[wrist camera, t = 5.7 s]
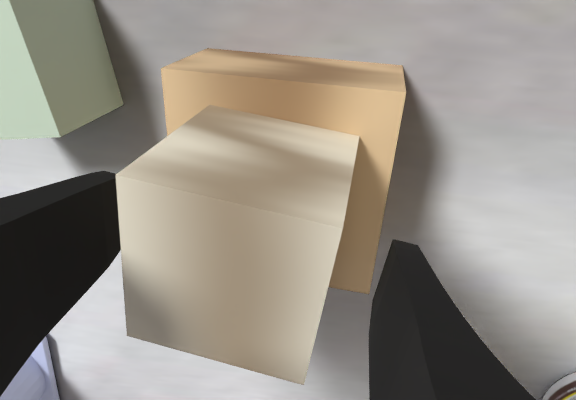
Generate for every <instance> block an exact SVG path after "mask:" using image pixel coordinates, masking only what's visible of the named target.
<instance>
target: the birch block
mask: <svg viewBox="0 0 576 400" xmlns="http://www.w3.org/2000/svg"><path fill="white" fill-rule="evenodd" d="M358 142H359V136H357V135H352V134H347V133H342V132H338V131H333V130H328V129H323V128H319V127H314V126H309V125H304V124H299V123H295V122H290V121H285V120H280V119H276V118H271V117H266V116H261V115H257V114H252V113H247V112H242V111H237V110H233V109H228V108H223V107H218V106H214V105H208V106H207V107H206V108H204V109H203V110H202V111H200V112H199V113H198V114H196V115H195V116H194V117H192V118H191V119H190V120H188V121H187V122H186V123H184V124H183V125H182V126H180V127H179V128H178V129H176V130H175V131H174V132H172V133H171V134H170V135H168V136H167V137H166V138H164V139H163V140H162V141H160V142H159V143H158V144H156V145H155V146H154V147H152V148H151V149H150V150H148V151H147V152H145V153H144V154H143V155H141V156H140V157H139V158H137V159H136V160H135V161H133V162H132V163H131V164H129V165H128V166H127V167H125V168H124V169H123V170H121V171H120V172H119V173H117V174H116V189H117V203H118V217H119V231H120V245H121V259H122V273H123V287H124V301H125V315H126V328H127V336H130V337H133V338H137V339H141V340H144V341H148V342H151V343H155V344H158V345H162V346H166V347H169V348H173V349H176V350H180V351H183V352H187V353H191V354H194V355H198V356H201V357H205V358H208V359H212V360H216V361H219V362H223V363H226V364H230V365H233V366H237V367H241V368H244V369H248V370H251V371H255V372H258V373H262V374H266V375H269V376H273V377H276V378H280V379H283V380H287V381H291V382H294V383H298V384H301V385H304V382H305V378H306V374H307V370H308V366H309V362H310V358H311V354H312V350H313V346H314V342H315V338H316V334H317V330H318V326H319V322H320V318H321V314H322V310H323V306H324V302H325V298H326V294H327V290H328V286H329V282H330V278H331V274H332V270H333V266H334V262H335V258H336V254H337V250H338V246H339V242H340V238H341V234H342V230H343V225H344V220H345V214H346V208H347V203H348V197H349V192H350V186H351V181H352V175H353V169H354V164H355V158H356V153H357V147H358Z"/></svg>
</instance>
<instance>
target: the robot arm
mask: <svg viewBox="0 0 576 400" xmlns="http://www.w3.org/2000/svg"><path fill="white" fill-rule="evenodd" d="M120 250H121V245H120V231H119V217H118V203H117V189H116V174H115V173H110V172H106V171H100V172H95V173H90V174H86V175H82V176H78V177H75V178H71V179H68V180H64V181H61V182H57V183H54V184H50V185H47V186H43V187H40V188H36V189H33V190H29V191H26V192H22V193H19V194H15V195H11V196H7V197H3V198H0V400H59V395H58V390H57V385H56V380H55V375H54V370H53V365H52V361H51V356H50V351H49V346H48V341H47V338H46V335H47V334H48V333H49V332H50V331H51V329H52V328H53V327H54V326H55V325H56V324H57V323H58V322H59V321H60V320H61V319H62V318H63V316H64V315H65V314H66V313H67V312H68V311H69V310H70V309H71V308H72V307H73V306H74V305H75V303H76V302H77V301H78V300H79V299H80V298H81V297H82V296H83V295H84V294H85V293H86V292H87V290H88V289H89V288H90V287H91V286H92V285H93V284H94V283H95V282H96V281H97V279H98V278H99V277H100V276H101V275H102V274H103V273H104V272H105V270H106V269H107V268H108V267H109V266H110V264H111V263H112V261H113V260H114V259H115V257H116V256H117V254H118V253H119V251H120ZM369 389H370V400H536V399H534V398H533V397H532V396H531V395H530V394H529V393H528V392H527V391H526V390H525V389H524V388H523V387H522V385H521V384H520V383H519V382H518V381H517V380H516V379H515V378H514V377H513V376H512V375H511V374H510V373H509V372H508V370H507V369H506V368H505V367H504V366H503V365H502V364H501V363H500V361H499V360H498V359H497V358H496V357H495V356H494V355H493V354H492V352H491V351H490V350H489V349H488V348H487V346H486V345H485V344H484V343H483V342H482V340H481V339H480V338H479V337H478V335H477V334H476V333H475V331H474V330H473V329H472V327H471V326H470V325H469V323H468V322H467V321H466V320H465V318H464V317H463V316H462V314H461V313H460V311H459V310H458V308H457V307H456V306H455V304H454V303H453V301H452V300H451V298H450V297H449V295H448V294H447V292H446V291H445V289H444V288H443V286H442V284H441V283H440V281H439V280H438V278H437V276H436V275H435V273H434V271H433V270H432V268H431V266H430V265H429V263H428V261H427V260H426V258H425V257H424V255H423V253H422V252H421V250H420V248H419V247H418V245H415V244H411V243H406V242H402V241H398V240H394V239H393V241H392V244H391V247H390V250H389V253H388V256H387V259H386V262H385V265H384V268H383V271H382V274H381V277H380V280H379V283H378V286H377V289H376V292H375V295H374V298H373V302H372V311H371V319H370V329H369Z"/></svg>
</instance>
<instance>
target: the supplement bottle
mask: <svg viewBox="0 0 576 400" xmlns="http://www.w3.org/2000/svg"><path fill="white" fill-rule="evenodd" d="M542 400H576V372H574V373H572V374H569V375H567V376H565V377H563V378H562V379H560V380H559V381H557V382H556V383H555V384H553V385H552V386H551V387H550V388H549V389H548V391H547V392H546V393H545V395H544V397H543V399H542Z"/></svg>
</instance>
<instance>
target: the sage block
mask: <svg viewBox="0 0 576 400" xmlns="http://www.w3.org/2000/svg"><path fill="white" fill-rule="evenodd" d="M122 105H124V104H123V101H122V97H121V94H120V90H119V87H118V84H117V80H116V77H115V73H114V70H113V66H112V63H111V60H110V56H109V53H108V49H107V46H106V42H105V39H104V36H103V32H102V29H101V25H100V22H99V18H98V15H97V12H96V8H95V5H94V1H93V0H0V140H7V139H30V138H53V137H62V136H64V135H66V134H68V133H70V132H72V131H73V130H75V129H77V128H79V127H81V126H83V125H85V124H87V123H89V122H91V121H93V120H95V119H97V118H99V117H101V116H103V115H105V114H107V113H109V112H111V111H113V110H114V109H116V108H118V107H120V106H122Z"/></svg>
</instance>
